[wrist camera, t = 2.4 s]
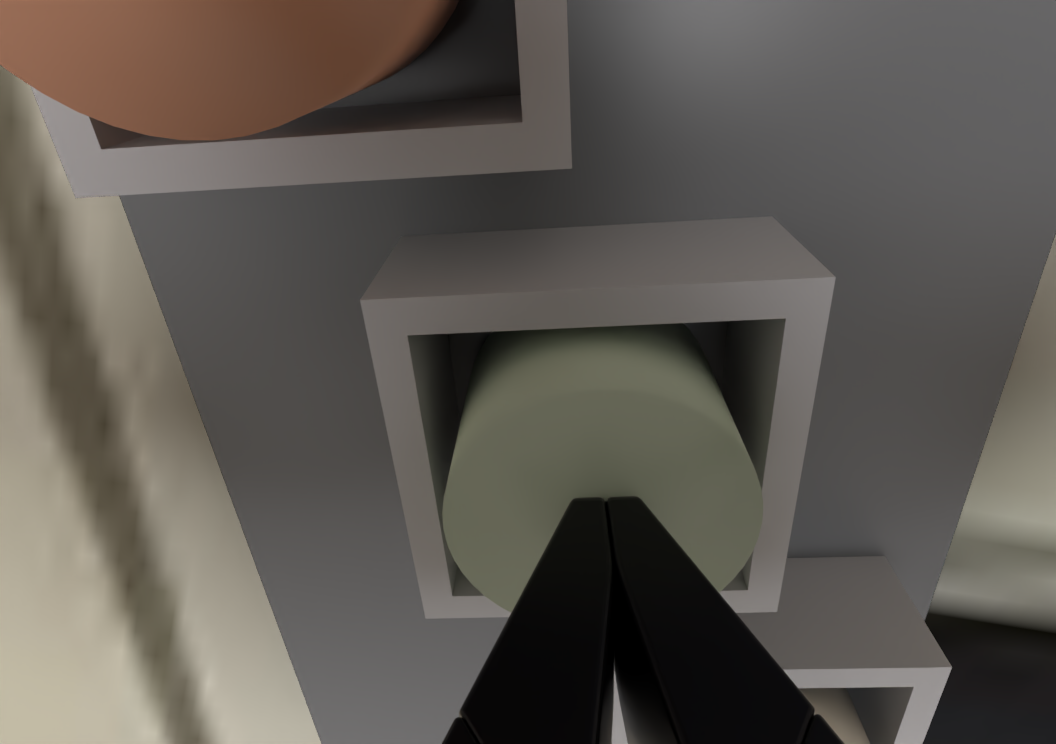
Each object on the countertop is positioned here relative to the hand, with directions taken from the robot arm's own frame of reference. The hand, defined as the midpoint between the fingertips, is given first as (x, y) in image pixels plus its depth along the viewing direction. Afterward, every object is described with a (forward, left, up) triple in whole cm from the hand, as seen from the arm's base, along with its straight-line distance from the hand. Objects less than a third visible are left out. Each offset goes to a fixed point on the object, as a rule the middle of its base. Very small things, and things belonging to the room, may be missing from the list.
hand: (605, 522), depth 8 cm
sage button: (0, 0, -3) cm, 3 cm away
